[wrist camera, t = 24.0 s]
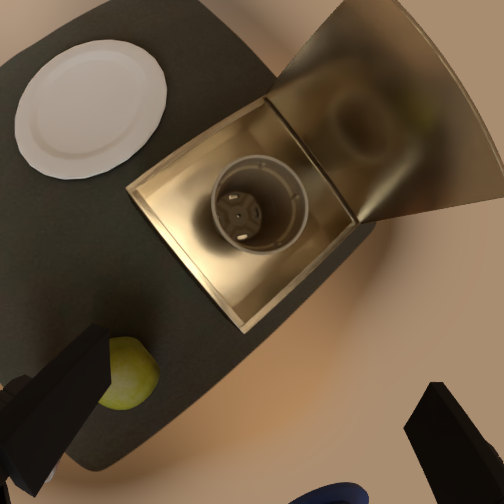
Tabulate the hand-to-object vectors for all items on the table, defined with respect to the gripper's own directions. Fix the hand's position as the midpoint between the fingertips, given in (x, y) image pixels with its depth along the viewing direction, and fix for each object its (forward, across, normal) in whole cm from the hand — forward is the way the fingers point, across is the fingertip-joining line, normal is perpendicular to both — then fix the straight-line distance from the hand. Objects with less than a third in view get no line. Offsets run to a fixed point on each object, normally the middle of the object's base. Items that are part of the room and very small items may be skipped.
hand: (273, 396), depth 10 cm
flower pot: (+27, -4, +3) cm, 27 cm away
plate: (+24, -26, +14) cm, 38 cm away
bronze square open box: (+27, -5, +3) cm, 28 cm away
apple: (+19, -14, -15) cm, 28 cm away
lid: (+15, +6, +14) cm, 21 cm away
